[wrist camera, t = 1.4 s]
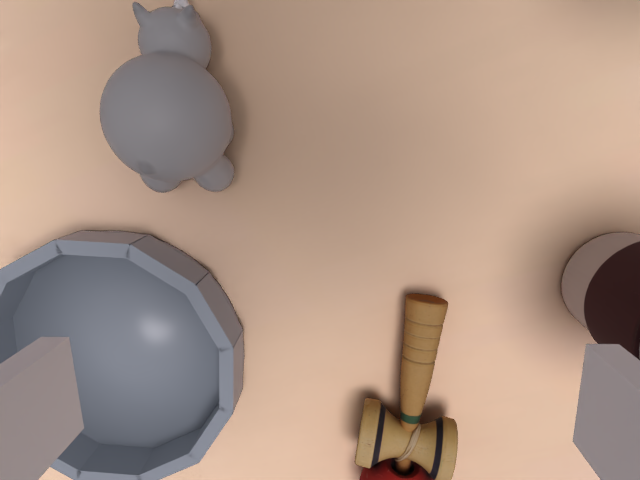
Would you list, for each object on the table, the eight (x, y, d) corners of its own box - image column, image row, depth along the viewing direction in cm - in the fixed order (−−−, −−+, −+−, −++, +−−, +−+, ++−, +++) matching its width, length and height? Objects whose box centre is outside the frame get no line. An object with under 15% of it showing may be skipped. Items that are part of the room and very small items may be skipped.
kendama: (359, 283, 34) (335, 500, 36) (382, 303, 28) (351, 565, 29) (453, 290, 35) (425, 500, 37) (495, 311, 29) (459, 562, 31)
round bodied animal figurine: (255, 42, 32) (229, -55, 23) (240, 203, 30) (207, 162, 21) (156, 38, 32) (95, -60, 23) (136, 198, 30) (62, 154, 22)
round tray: (-5, 223, 33) (-47, 233, 29) (245, 238, 32) (233, 250, 29) (22, 442, 37) (-12, 474, 34) (243, 460, 36) (232, 494, 33)
